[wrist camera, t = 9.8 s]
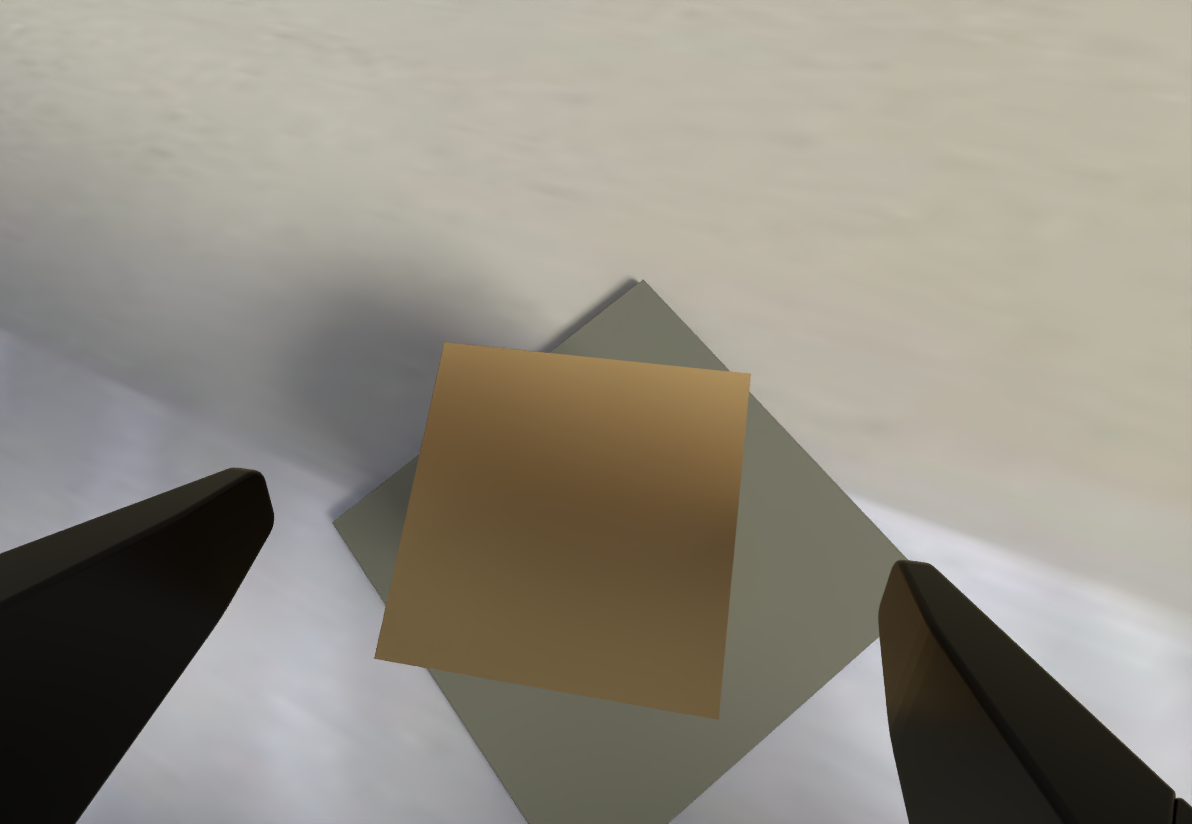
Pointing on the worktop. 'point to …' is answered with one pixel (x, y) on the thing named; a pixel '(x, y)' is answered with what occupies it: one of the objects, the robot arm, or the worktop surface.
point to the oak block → (573, 527)
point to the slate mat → (754, 631)
